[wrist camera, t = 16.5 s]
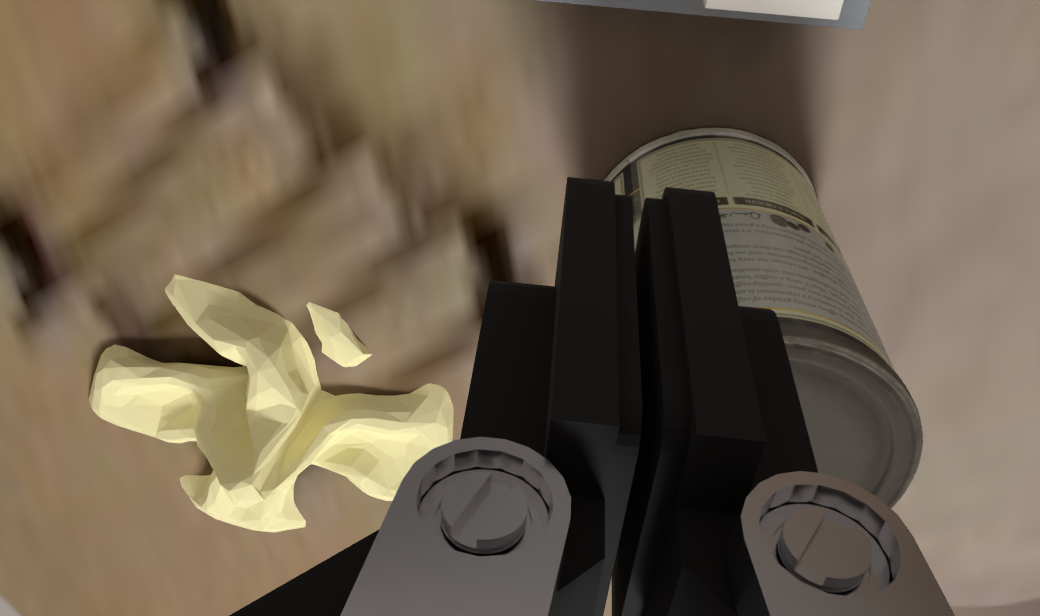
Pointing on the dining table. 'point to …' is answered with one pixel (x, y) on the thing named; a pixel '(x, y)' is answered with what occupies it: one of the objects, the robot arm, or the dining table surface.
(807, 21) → the switch board
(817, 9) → the tab
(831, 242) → the coffee can
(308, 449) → the cloth
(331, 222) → the dining table surface
